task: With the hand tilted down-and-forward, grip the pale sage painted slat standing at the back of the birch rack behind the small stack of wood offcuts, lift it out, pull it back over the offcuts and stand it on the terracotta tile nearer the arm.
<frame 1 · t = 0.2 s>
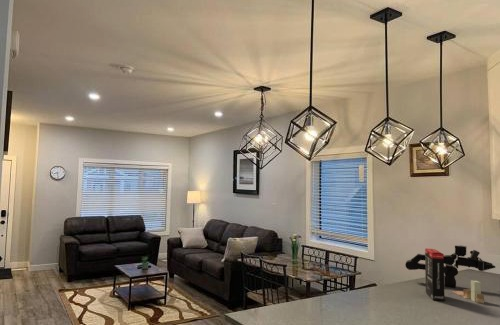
hand: (493, 265, 237), 17 cm above the kitchen counter, tool horizontal, fingers open, 9 cm apart
pale green block: (475, 300, 213), resting in rack
graphics card box: (434, 297, 217), on the kitchen counter
tile: (462, 293, 228), on the kitchen counter
rack: (475, 300, 213), on the kitchen counter
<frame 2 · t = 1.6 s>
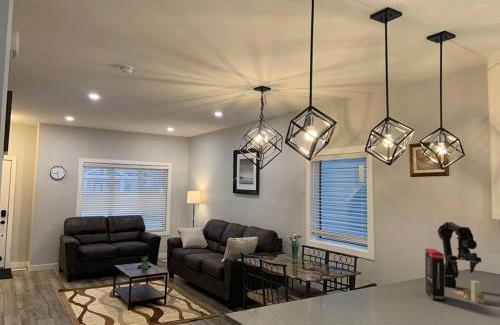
hand: (463, 272, 228), 13 cm above the kitchen counter, tool pointing down, fingers open, 9 cm apart
nothing on the kitchen counter moved.
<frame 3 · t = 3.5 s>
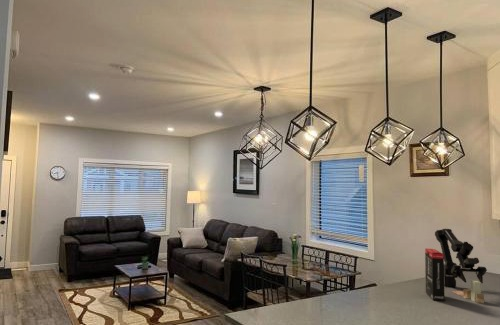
hand: (474, 282, 216), 10 cm above the kitchen counter, tool tilted 45°, fingers open, 9 cm apart
nothing on the kitchen counter moved.
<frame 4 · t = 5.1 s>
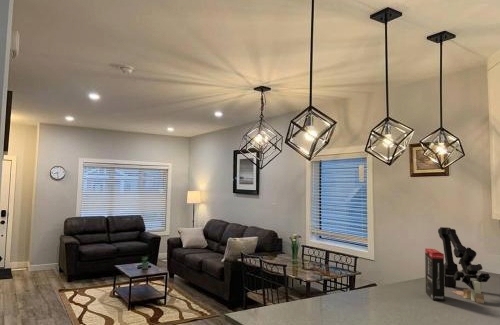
hand: (477, 289, 212), 7 cm above the kitchen counter, tool tilted 45°, fingers closed on pale green block, 3 cm apart
pale green block: (475, 300, 213), resting in rack, touching gripper
everything else where it was.
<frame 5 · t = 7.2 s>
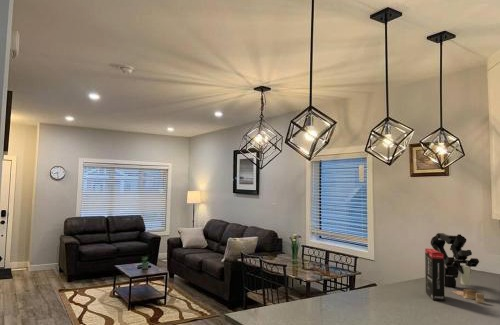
hand: (466, 273, 224), 13 cm above the kitchen counter, tool tilted 45°, fingers closed on pale green block, 3 cm apart
pale green block: (465, 284, 225), point 7 cm above the kitchen counter, touching gripper
everything else where it was.
when the fingers open (8 cm above the kitchen counter, at t = 9.1 s): pale green block drops 1 cm, resting on tile.
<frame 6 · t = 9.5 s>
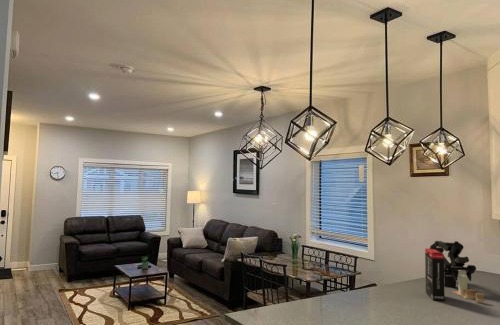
hand: (463, 280, 227), 8 cm above the kitchen counter, tool tilted 45°, fingers open, 8 cm apart
pale green block: (462, 293, 228), resting on tile
everything else where it was.
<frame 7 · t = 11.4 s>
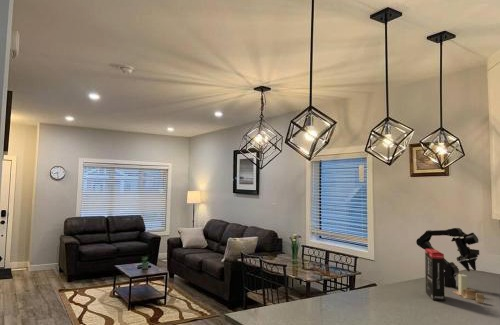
hand: (472, 270, 236), 13 cm above the kitchen counter, tool tilted 20°, fingers open, 9 cm apart
nothing on the kitchen counter moved.
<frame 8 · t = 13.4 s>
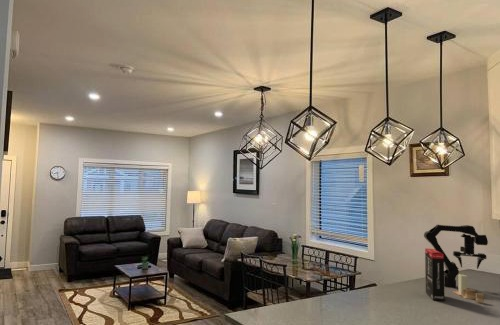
hand: (469, 268, 244), 13 cm above the kitchen counter, tool pointing down, fingers open, 9 cm apart
nothing on the kitchen counter moved.
at the end: pale green block inside the target area on the tile (0.0 cm from its centre), point 0.3 cm above the tile's base; pale green block tilted 0°; the gripper is holding nothing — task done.
